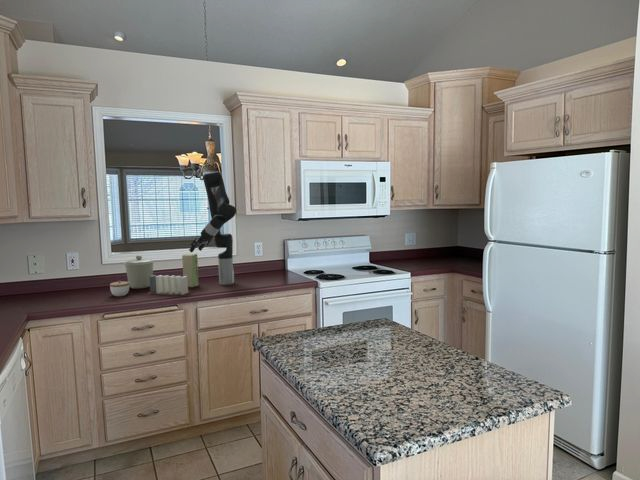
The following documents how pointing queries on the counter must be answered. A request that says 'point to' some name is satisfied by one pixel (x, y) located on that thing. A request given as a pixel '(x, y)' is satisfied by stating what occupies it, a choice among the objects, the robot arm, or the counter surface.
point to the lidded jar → (119, 288)
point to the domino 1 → (153, 283)
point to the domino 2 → (159, 283)
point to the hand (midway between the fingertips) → (194, 250)
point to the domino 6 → (184, 285)
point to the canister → (139, 272)
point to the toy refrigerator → (190, 269)
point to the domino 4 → (171, 284)
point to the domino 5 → (177, 284)
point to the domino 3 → (165, 284)
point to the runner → (167, 293)
